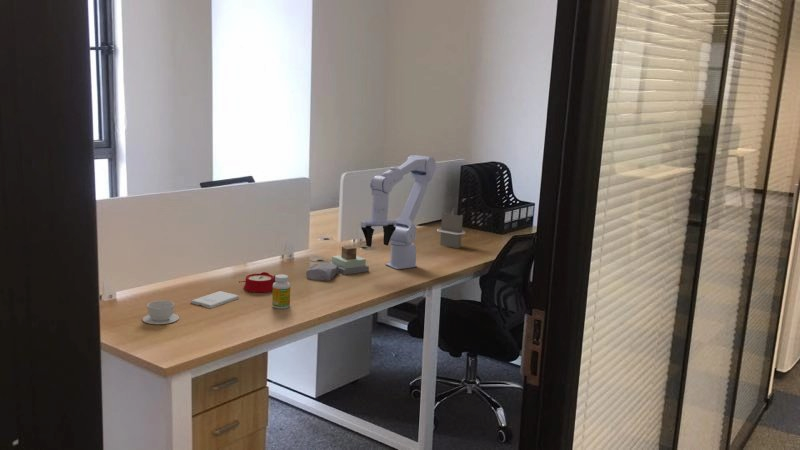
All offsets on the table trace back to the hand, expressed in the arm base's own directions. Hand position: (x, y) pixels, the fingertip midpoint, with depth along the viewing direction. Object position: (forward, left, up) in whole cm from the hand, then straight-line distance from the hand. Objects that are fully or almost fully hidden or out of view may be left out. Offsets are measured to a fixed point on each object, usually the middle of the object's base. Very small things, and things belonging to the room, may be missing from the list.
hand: (377, 245), depth 266 cm
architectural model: (-54, -22, -11) cm, 60 cm away
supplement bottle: (+48, +19, -11) cm, 53 cm away
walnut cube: (+6, -9, -6) cm, 13 cm away
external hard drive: (+64, +5, -11) cm, 65 cm away
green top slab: (+6, -9, -9) cm, 14 cm away
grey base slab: (+6, -9, -11) cm, 16 cm away
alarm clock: (+44, -2, -11) cm, 46 cm away
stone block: (+20, -6, -11) cm, 23 cm away
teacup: (+84, +14, -11) cm, 86 cm away
